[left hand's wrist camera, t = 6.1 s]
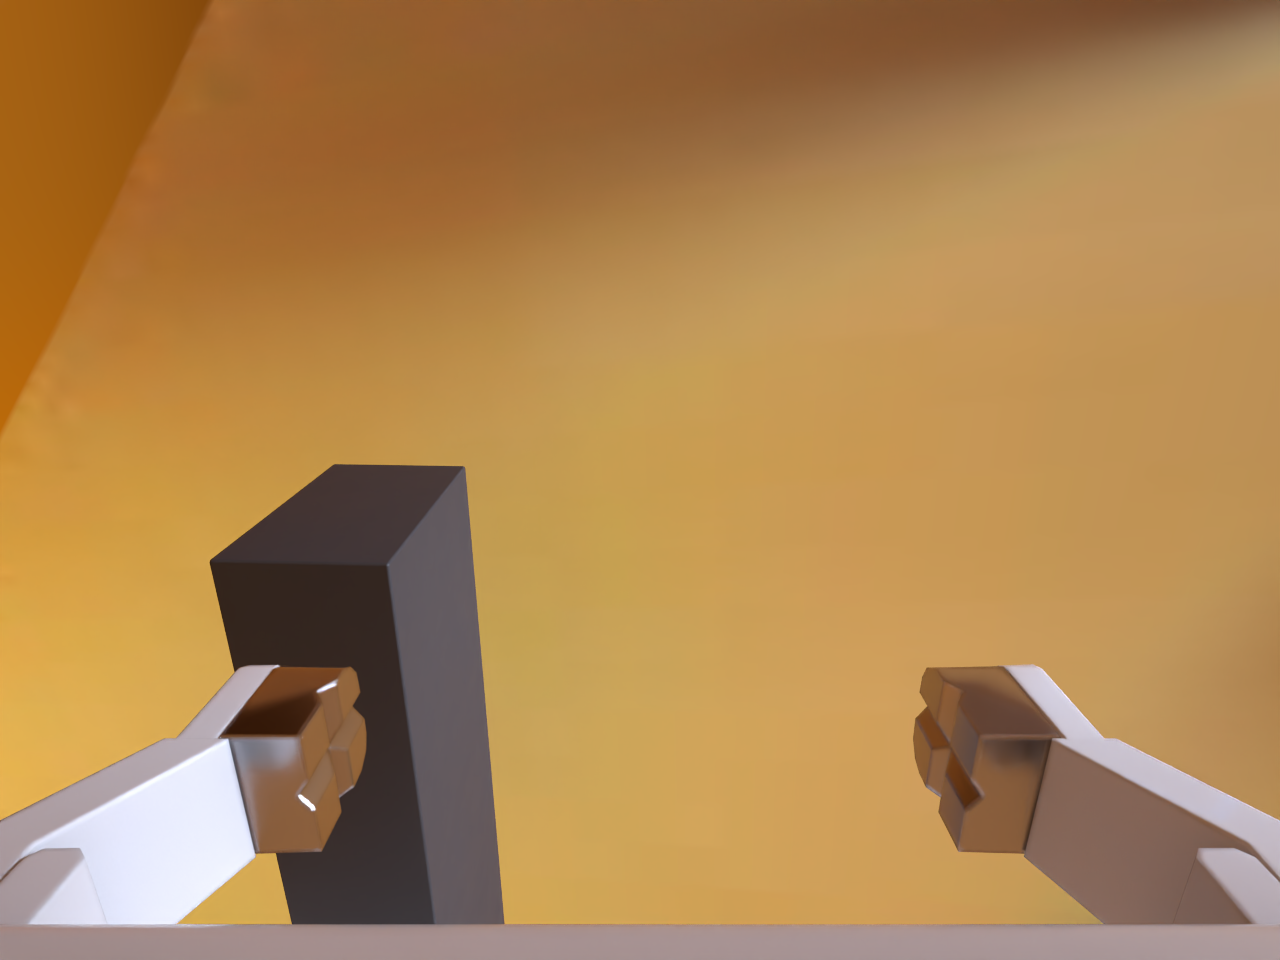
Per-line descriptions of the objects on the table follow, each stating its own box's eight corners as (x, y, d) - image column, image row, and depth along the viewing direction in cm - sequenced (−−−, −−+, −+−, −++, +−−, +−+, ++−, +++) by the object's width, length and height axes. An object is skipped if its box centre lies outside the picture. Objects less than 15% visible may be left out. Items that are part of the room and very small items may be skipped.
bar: (333, 463, 28) (207, 560, 21) (465, 465, 28) (388, 564, 20) (407, 947, 38) (340, 1139, 30) (507, 951, 37) (465, 1145, 30)
